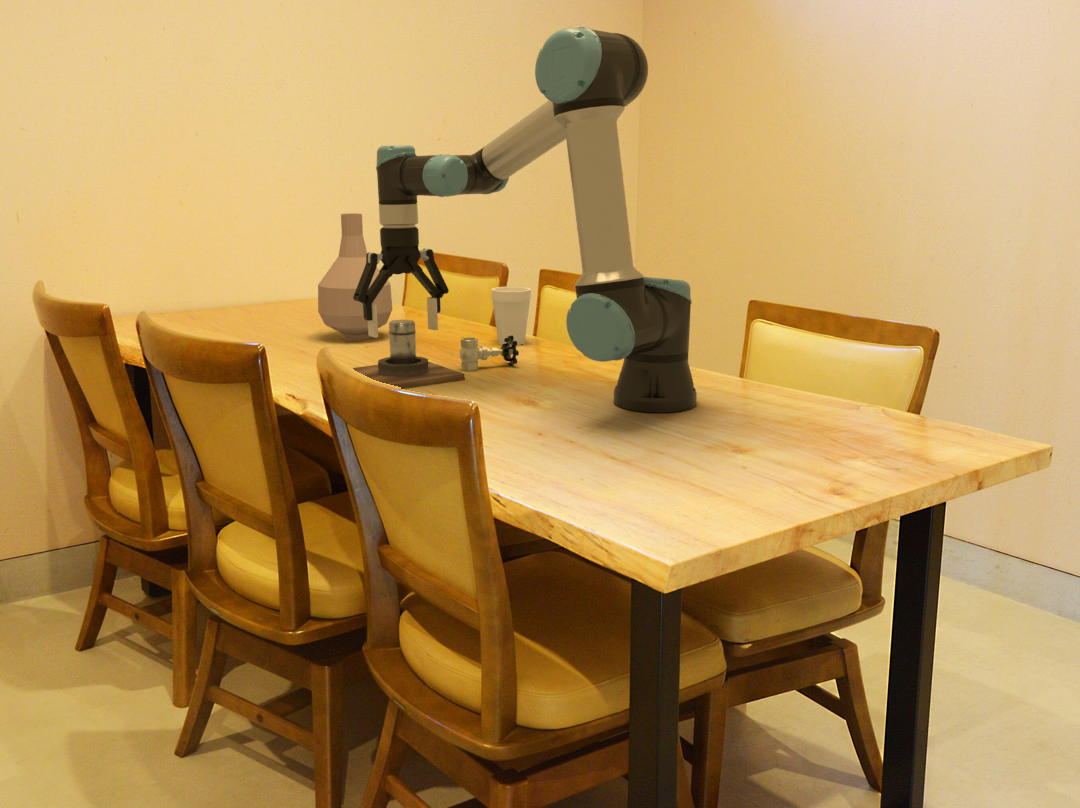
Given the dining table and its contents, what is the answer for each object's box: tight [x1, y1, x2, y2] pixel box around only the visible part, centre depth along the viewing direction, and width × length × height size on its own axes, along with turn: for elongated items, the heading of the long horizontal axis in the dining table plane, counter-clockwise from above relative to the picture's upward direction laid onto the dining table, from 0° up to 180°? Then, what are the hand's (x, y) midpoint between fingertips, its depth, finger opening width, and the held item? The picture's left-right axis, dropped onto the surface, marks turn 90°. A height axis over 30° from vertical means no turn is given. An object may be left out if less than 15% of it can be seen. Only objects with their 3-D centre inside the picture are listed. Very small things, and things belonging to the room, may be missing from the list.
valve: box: [459, 335, 520, 372], centre depth 217 cm, size 7×7×12 cm
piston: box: [388, 319, 417, 365], centre depth 206 cm, size 5×5×10 cm
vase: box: [317, 212, 393, 341], centre depth 247 cm, size 18×18×30 cm
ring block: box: [352, 355, 466, 389], centre depth 208 cm, size 18×18×3 cm
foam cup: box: [490, 286, 532, 346], centre depth 243 cm, size 10×9×13 cm
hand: (403, 333), depth 205 cm, fingers open, 13 cm apart
